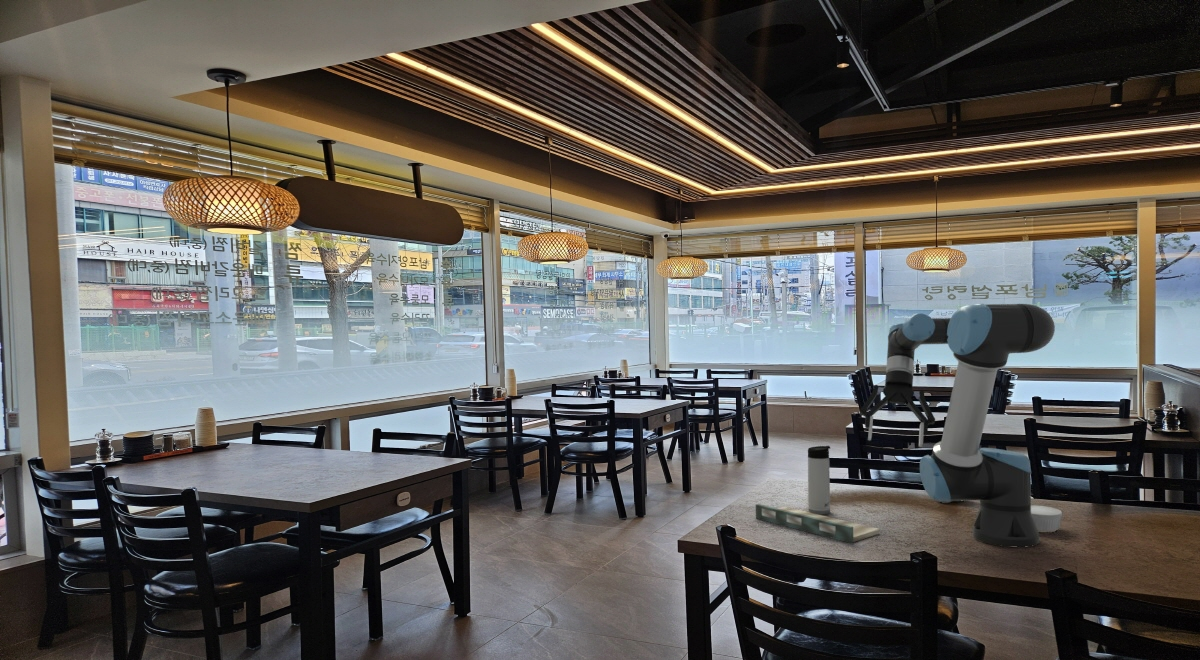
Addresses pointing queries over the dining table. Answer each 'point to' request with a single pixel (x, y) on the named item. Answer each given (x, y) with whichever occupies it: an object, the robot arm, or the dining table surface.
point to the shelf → (815, 523)
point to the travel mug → (818, 480)
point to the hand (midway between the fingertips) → (895, 442)
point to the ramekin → (1046, 518)
